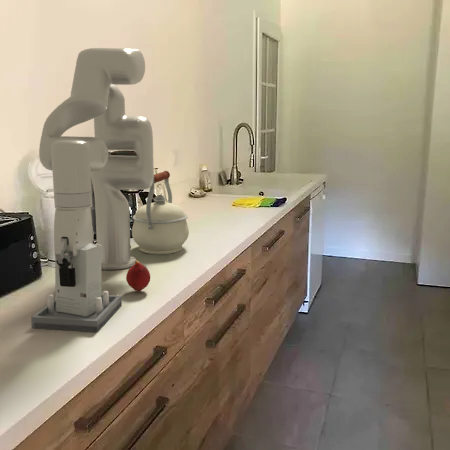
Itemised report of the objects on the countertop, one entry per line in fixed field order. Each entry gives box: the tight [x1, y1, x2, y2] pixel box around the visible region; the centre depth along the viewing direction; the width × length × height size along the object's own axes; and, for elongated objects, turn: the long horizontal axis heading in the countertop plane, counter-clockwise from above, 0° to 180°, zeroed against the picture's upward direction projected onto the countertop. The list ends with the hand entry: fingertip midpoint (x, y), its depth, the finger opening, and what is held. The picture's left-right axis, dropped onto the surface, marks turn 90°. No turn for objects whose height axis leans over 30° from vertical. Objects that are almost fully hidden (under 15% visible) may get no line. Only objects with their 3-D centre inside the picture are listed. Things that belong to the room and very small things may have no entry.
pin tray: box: [30, 290, 123, 333], centre depth 112 cm, size 15×14×5 cm
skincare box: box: [54, 243, 102, 317], centre depth 111 cm, size 8×6×15 cm
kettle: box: [131, 170, 190, 255], centre depth 168 cm, size 25×18×25 cm
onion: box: [125, 259, 151, 293], centre depth 127 cm, size 6×6×8 cm
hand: (77, 278), depth 111 cm, fingers open, 9 cm apart
